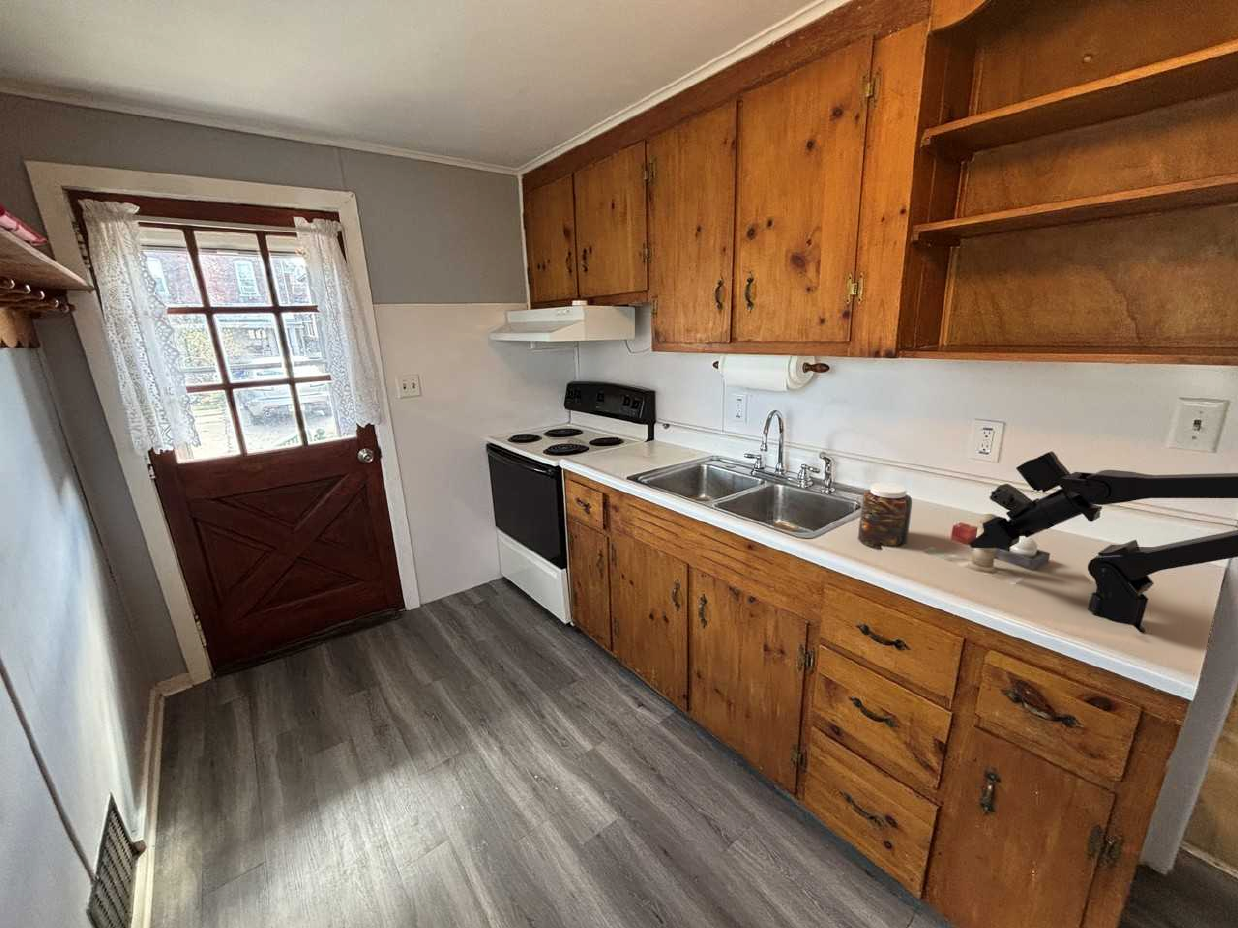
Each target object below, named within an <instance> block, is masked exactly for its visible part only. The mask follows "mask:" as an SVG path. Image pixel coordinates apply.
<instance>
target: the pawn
mask: <svg viewBox="0 0 1238 928" xmlns="http://www.w3.org/2000/svg"><path fill="white" fill-rule="evenodd" d="M996 517H998V515H996V514H993V513H985V514H983V515H982V516H980V518H979V520H978V524H979V526H977V527H978V529H977V535H976V538H977V537H978V536H980V535H981V534H982V533H983V532H984V528H983V523H985V522H987V521H989V520H991V519H993V518H996ZM995 553H996V549H994V548H973V551H972V556H971V559H970V560H971V561H970V563H969V565H970V568H972V569H973V570H972V569H971V570H972V571H974V570H976V571H975V572H977V571H979V572H978V573H980V572H983V573H991V572H993V569H995V565H994V563H995ZM983 573H982V574H983ZM993 573H994V572H993ZM991 574H992V573H991Z"/></svg>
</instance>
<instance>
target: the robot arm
mask: <svg viewBox="0 0 1238 928" xmlns="http://www.w3.org/2000/svg"><path fill="white" fill-rule="evenodd" d="M1015 470H1016V471H1018V473H1019V474H1020V475H1021V476H1022V478H1023V479H1024V480H1025V482H1027V484H1028V485H1029V486H1030V488H1031V489H1032V490H1033V491H1035V492H1036V493H1038V492H1041V493H1043V494H1044V493H1047V492H1049V491H1051V490H1054V489H1055V488H1057V487H1060V489H1058V490H1056V491H1054V492H1052V493H1051V492H1050V493H1049V494H1047V495H1044V496H1042V497H1041V498H1039V497H1038V498H1035V499H1033V500H1032V498H1029V497H1028V496H1027V495H1026V494H1025V493H1024V492H1022V491H1020V490H1018V489H1017V488H1016V487H1014V486H1012V485H1011V484H1009V483H1005V484H1004V483H1003V484H1002V485H999V486H998V487H996V488H995V490H994V491H991V492H990V494H991V495H990V496H989V499H990V500H991V501H992V502H994V503H996V504H997V505H999V506H1000V507H1002V508H1004V509H1005V510H1007V512H1005V514H1006V515H1007V517H1008V518H1009V520H1007V518H1006V517H1004V516H1003V517H1002V516H998V515H997V516H998V517H996V518H993V519H991V520H989V521H987V522H985V523H983V528H984V532H983V533H982V534H981V535H980V536H978V537H977V538H976V539H974V540H973V541H972V542H971V543H969V544H968V545H969V546H970V547H971V549H974V548H994V549H1001V550H1004V549H1006V548H1009V547H1011V546H1013V545H1015V544H1017V543H1019V539H1020V536H1025V537H1026V538H1027V537H1031V536H1033V535H1036V534H1038V533H1040V532H1043V531H1045V530H1048V529H1051V528H1053V527H1055V526H1057V525H1059V524H1062V523H1064V522H1066V521H1068V520H1071V519H1074V518H1076V517H1079V516H1081V515H1083V517H1085V518H1086V520H1087V521H1088V522H1091V523H1093V522H1094V521H1096V520H1098V519H1099V518H1100V517H1101V511H1102V509H1103V506H1104V505H1112V504H1113V505H1114V504H1121V503H1127V502H1133V501H1138V500H1147V499H1238V472H1229V473H1227V472H1226V473H1224V472H1221V473H1219V472H1218V473H1190V474H1189V473H1186V474H1185V473H1184V474H1183V473H1182V474H1181V473H1180V474H1148V473H1141V472H1137V471H1136V472H1135V471H1130V470H1128V471H1127V470H1119V469H1118V470H1116V469H1102V470H1100V471H1097V472H1086V471H1074V472H1072V473H1071V472H1070V471H1069V470H1068V469H1067V468H1066V467H1065V465H1064V464H1063V463H1062V462H1061V460H1060V459H1059V458H1058V456H1057V454H1056V453H1055V452H1054V451H1049V452H1046V453H1044V454H1042V455H1040V456H1038V457H1035V458H1034V459H1029V460H1027V461H1025V462H1023V463H1022V464H1020V465H1018V466H1017V467H1015ZM1097 554H1098V555H1097V556H1095V557H1094V558H1092V559H1090V560H1089V562H1088V564H1087V571H1088V573H1089V575H1090V577H1092V579H1094V582H1095V586H1096V589H1095V592H1094V591H1093V592H1092V593H1091V595H1090V599H1089V604H1088V607H1087V610H1088V611H1089V612H1090V613H1091V614H1092V615H1093V616H1095V617H1099V618H1102V619H1103V618H1104V619H1107V620H1109V621H1111V622H1115V623H1118V624H1123V625H1133V627H1134V628H1135V629H1136V630H1137V631H1138V632H1139V633H1145V632H1146V629H1145V628H1144V627H1143V626H1142V623H1143V622H1142V621H1143V618H1144V616H1145V613H1146V608H1147V605H1148V602H1149V598H1148V597H1147V596H1146V595H1145V594H1144V593H1145V592H1147V591H1148V590H1149V589H1150V588H1151V587H1152V586H1153V585H1154V581H1153V580H1152V579H1151V577H1149V576H1150V575H1152V574H1154V573H1157V572H1161V571H1165V570H1171V569H1172V570H1173V569H1176V568H1182V567H1189V566H1195V565H1200V564H1205V563H1211V562H1218V561H1222V560H1227V559H1228V560H1229V559H1234V558H1238V529H1235V530H1230V531H1225V532H1220V533H1215V534H1212V535H1211V534H1210V535H1205V536H1201V537H1196V538H1190V539H1186V540H1182V541H1177V542H1172V543H1168V544H1162V545H1158V546H1157V545H1156V546H1139V543H1138V541H1137V539H1134V540H1131V541H1129V542H1125V543H1123V544H1110V545H1108V546H1107V547H1105V548H1104V549H1102V550H1100V551H1099V552H1098V553H1097Z"/></svg>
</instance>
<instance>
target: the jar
mask: <svg viewBox="0 0 1238 928" xmlns="http://www.w3.org/2000/svg"><path fill="white" fill-rule="evenodd" d="M861 500H862V501H861V506H860V507H861V508H860V514H859V516H860V517H859V522H858V533H857V540H858V541H859V542H860V543H861V544H862V545H864V546H866V547H869V548H872V549H875V550H880V551H883V547H887V548H888V547H889V548H893V547H894V548H895V547H903V546H905V545H907V543H908V537H909V530H910V526H911V525H910V524H911V516H912V509H913V499H912V497H911V496H910V495H909V494H907V487H905V486H903V485H900V484H896V483H889V482H876V483H873V484H871V485H870V489H869V490H866V491H865V492H864V493H863V496H862V499H861Z"/></svg>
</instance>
